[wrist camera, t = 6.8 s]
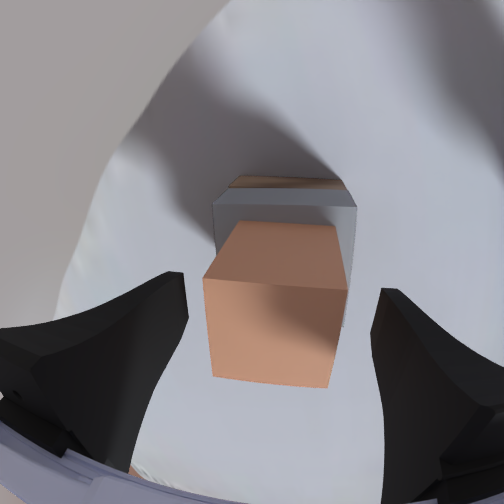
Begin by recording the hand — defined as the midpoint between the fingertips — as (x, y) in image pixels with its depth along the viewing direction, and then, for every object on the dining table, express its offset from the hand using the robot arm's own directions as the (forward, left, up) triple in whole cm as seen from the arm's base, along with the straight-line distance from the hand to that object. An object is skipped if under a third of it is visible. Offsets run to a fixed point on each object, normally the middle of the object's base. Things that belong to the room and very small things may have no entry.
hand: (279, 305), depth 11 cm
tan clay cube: (0, 0, -3) cm, 3 cm away
